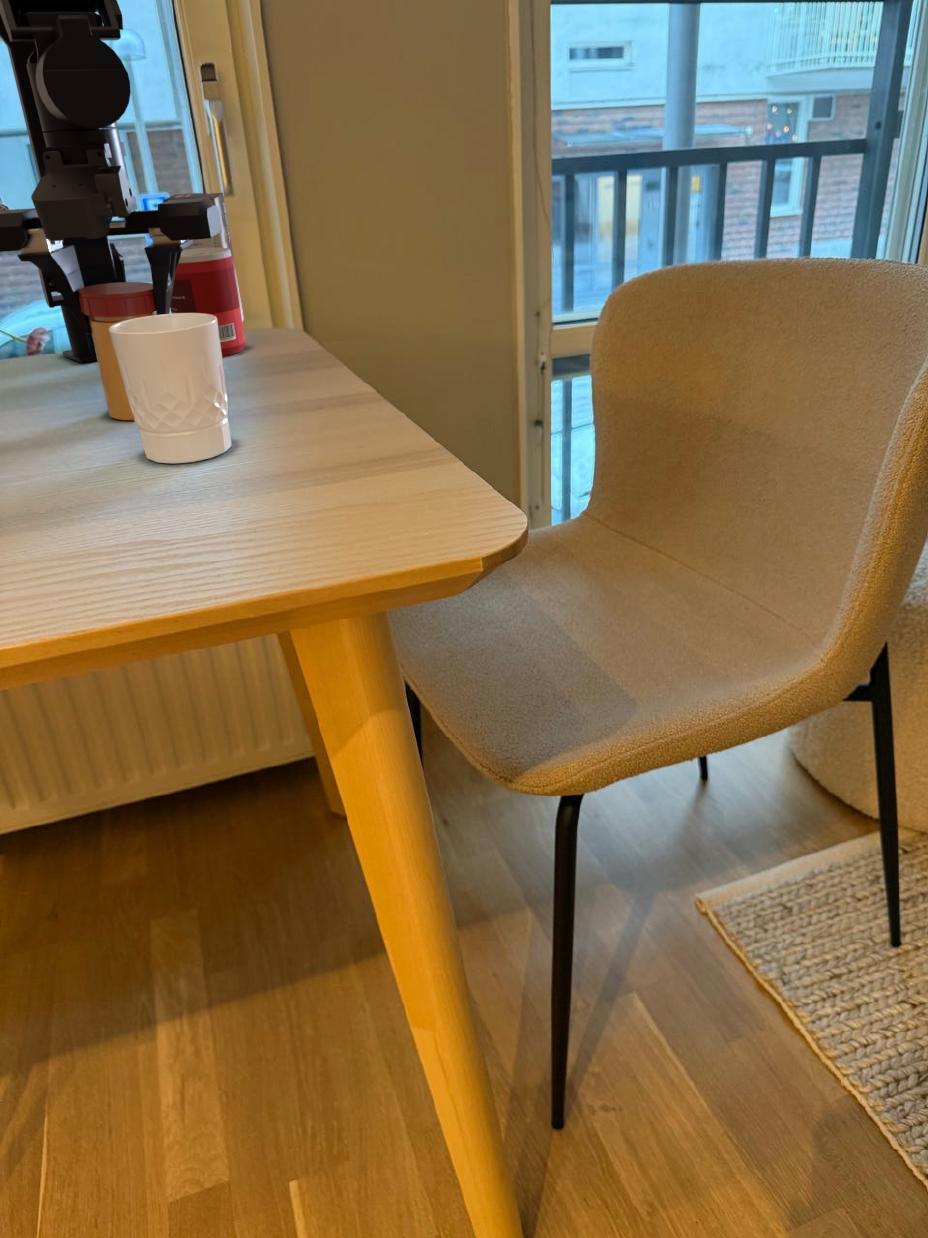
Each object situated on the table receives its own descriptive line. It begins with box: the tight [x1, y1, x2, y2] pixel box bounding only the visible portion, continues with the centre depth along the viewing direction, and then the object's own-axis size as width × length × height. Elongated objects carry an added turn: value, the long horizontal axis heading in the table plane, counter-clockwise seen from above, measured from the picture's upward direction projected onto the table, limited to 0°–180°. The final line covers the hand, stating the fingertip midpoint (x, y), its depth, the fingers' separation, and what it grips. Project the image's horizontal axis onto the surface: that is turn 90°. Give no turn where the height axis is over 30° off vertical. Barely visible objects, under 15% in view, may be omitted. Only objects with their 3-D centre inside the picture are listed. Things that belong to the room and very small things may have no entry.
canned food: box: [170, 248, 246, 358], centre depth 103 cm, size 8×8×11 cm
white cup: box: [109, 313, 232, 464], centre depth 70 cm, size 8×8×10 cm
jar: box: [89, 311, 157, 421], centre depth 81 cm, size 6×6×10 cm
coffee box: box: [162, 192, 245, 323], centre depth 115 cm, size 9×6×16 cm
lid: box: [78, 281, 156, 317], centre depth 78 cm, size 6×6×2 cm
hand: (126, 330), depth 79 cm, fingers closed on lid, 6 cm apart
